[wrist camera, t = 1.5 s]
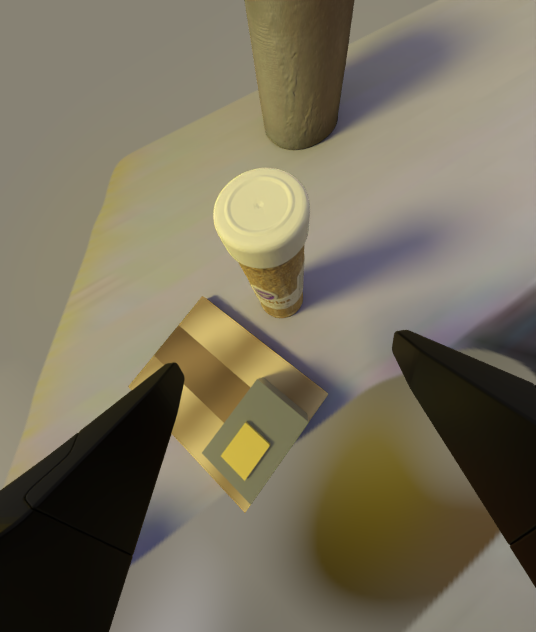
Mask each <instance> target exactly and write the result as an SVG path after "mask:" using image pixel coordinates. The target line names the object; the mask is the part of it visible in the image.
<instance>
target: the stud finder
mask: <svg viewBox="0 0 536 632" xmlns="http://www.w3.org/2000/svg"><path fill="white" fill-rule="evenodd" d="M308 423H309V421H308V415H307V413H306V412H305V411H304V410H302V409H301V408H300V407H299V406H298V405H296V404H295V403H294V402H293V401H292V400H290V399H289V398H288V397H287V396H286V395H284V394H283V393H282V392H281V391H280V390H278V389H277V388H276V387H275V386H274V385H272V384H271V383H270V382H269V381H268V380H266V379H265V378H264V377H262V378H259V379H257V380H256V381H255V382H254V384H253V385H252V386H251V388H250V389H249V390H248V392H247V393H246V394H245V396H244V397H243V398H242V400H241V401H240V402H239V404H238V405H237V406H236V408H235V409H234V411H233V412H232V413H231V415H230V416H229V417H228V419H227V420H226V421H225V423H224V424H223V425H222V427H221V428H220V429H219V431H218V432H217V433H216V435H215V436H214V437H213V439H212V440H211V441H210V443H209V444H208V445H207V447H206V448H205V449H204V451H203V452H202V454H203V455H204V456H205V457H206V458H207V459H208V460H209V461H210V462H211V463H212V464H213V465H214V467H215V468H216V469H217V470H218V471H219V472H220V473H221V474H222V475H223V476H224V477H225V478H226V479H227V480H228V481H229V482H230V483H231V485H232V486H233V487H234V488H235V489H236V490H237V491H238V492H239V493H240V494H241V495H242V496H243V497H244V498H245V499H246V500H247V501H248V503H249V504H250V505H251V504H252V503H253V501H254V500H255V498H256V497H257V495H258V494H259V493H260V491H261V490H262V488H263V487H264V485H265V484H266V482H267V481H268V480H269V478H270V477H271V475H272V474H273V473H274V471H275V470H276V468H277V467H278V465H279V464H280V463H281V461H282V460H283V458H284V457H285V455H286V454H287V453H288V451H289V450H290V448H291V447H292V445H293V444H294V443H295V441H296V440H297V438H298V437H299V435H300V434H301V433H302V431H303V430H304V428H305V427H306V425H307V424H308Z"/></svg>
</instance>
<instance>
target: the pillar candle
mask: <svg viewBox="0 0 536 632" xmlns="http://www.w3.org/2000/svg"><path fill="white" fill-rule="evenodd" d="M244 1H245V6H246V13H247V19H248V26H249V32H250V38H251V45H252V51H253V58H254V65H255V71H256V78H257V84H258V90H259V96H260V102H261V108H262V114H263V120H264V126H265V132H266V135H267V136H268V137H269V138H270V139H271V140H272V141H273V142H274V143H275V144H277V145H278V146H280V147H282V148H285V149H292V150H295V149H304V148H308V147H311V146H313V145H315V144H317V143H319V142H321V141H322V140H323V139H325V138H326V137H327V136H328V135H329V134H330V133H331V132H332V131H333V129H334V128H335V126H336V124H337V119H338V110H339V103H340V97H341V89H342V83H343V77H344V70H345V65H346V58H347V51H348V44H349V36H350V28H351V20H352V13H353V6H354V0H244Z"/></svg>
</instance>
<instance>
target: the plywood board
mask: <svg viewBox="0 0 536 632" xmlns="http://www.w3.org/2000/svg"><path fill="white" fill-rule="evenodd" d="M172 362H176V363H177V364H178V365H179V367H180V369H181V371H182V372H183V374H184V377H185V381H184V386H183V391H182V395H181V400H180V405H179V410H178V414H177V417H176V421H175V424H174V427H173V430H172V434H173V436H174V437H175V438H176V439H177V440H178V441H179V442H180V443H181V444H182V445H183V446H184V447H185V449H186V450H187V451H188V452H189V453H190V454H191V455H192V456H193V457H194V458H195V459H196V460H197V461H198V463H199V464H200V465H201V466H202V467H203V468H204V469H205V470H206V471H207V472H208V473H209V474H210V476H211V477H212V478H213V479H214V480H215V481H216V482H217V483H218V484H219V485H220V486H221V487H222V489H223V490H224V491H225V492H226V493H227V494H228V495H229V496H230V497H231V498H232V499H233V500H234V501H235V503H236V504H237V505H238V506H239V507H240V508H241V509H242V510H243V511H244V512H246V511H247V509H248V508H249V507H250V504H249V503H248V501H247V500H246V499H245V498H244V497H243V496H242V495H241V494H240V493H239V492H238V491H237V490H236V489H235V488H234V487H233V486H232V485H231V483H230V482H229V481H228V480H227V479H226V478H225V477H224V476H223V475H222V474H221V473H220V472H219V471H218V470H217V469H216V468H215V467H214V465H213V464H212V463H211V462H210V461H209V460H208V459H207V458H206V457H205V456H204V455H203V454H202V452H203V451H204V449H205V448H206V447H207V445H208V444H209V443H210V441H211V440H212V439H213V437H214V436H215V435H216V433H217V432H218V431H219V429H220V428H221V427H222V425H223V424H224V423H225V421H226V420H227V419H228V417H229V416H230V415H231V413H232V412H233V411H234V409H235V408H236V406H237V405H238V404H239V402H240V401H241V400H242V398H243V397H244V396H245V394H246V393H247V392H248V390H249V389H250V388H251V386H252V385H253V384H254V382H255V381H256V380H257V379H259V378H262V377H264V378H265V379H266V380H268V381H269V382H270V383H271V384H272V385H274V386H275V387H276V388H277V389H278V390H280V391H281V392H282V393H283V394H284V395H286V396H287V397H288V398H289V399H290V400H292V401H293V402H294V403H295V404H296V405H298V406H299V407H300V408H301V409H302V410H304V411H305V412H306V413H307V415H308V421H310V419H311V418H312V417H313V415H314V414H315V412H316V411H317V409H318V408H319V407H320V405H321V404H322V402H323V401H324V399H325V398H326V397H327V395H328V393H327V392H326V391H324V390H323V389H322V388H320V387H319V386H318V385H317V384H315V383H314V382H313V381H311V380H310V379H309V378H308V377H306V376H305V375H304V374H302V373H301V372H300V371H299V370H297V369H296V368H295V367H293V366H292V365H291V364H290V363H288V362H287V361H286V360H284V359H283V358H282V357H281V356H279V355H278V354H277V353H275V352H274V351H273V350H272V349H270V348H269V347H268V346H266V345H265V344H264V343H263V342H261V341H260V340H259V339H257V338H256V337H255V336H254V335H252V334H251V333H250V332H248V331H247V330H246V329H245V328H243V327H242V326H241V325H239V324H238V323H237V322H236V321H234V320H233V319H232V318H230V317H229V316H228V315H227V314H225V313H224V312H223V311H221V310H220V309H219V308H218V307H216V306H215V305H214V304H212V303H211V302H210V301H209V300H207V299H206V298H205V297H203V296H202V297H201V298H200V300H199V301H198V302H197V303H196V305H195V306H194V307H193V308H192V309H191V311H190V312H189V313H188V314H187V316H186V317H185V318H184V319H183V320H182V322H181V323H180V324H179V325H178V327H177V328H176V329H175V330H174V331H173V333H172V334H171V335H170V336H169V338H168V339H167V340H166V341H165V342H164V344H163V345H162V346H161V347H160V349H159V350H158V351H157V352H156V353H155V355H154V356H153V357H152V358H151V360H150V361H149V362H148V363H147V364H146V366H145V367H144V368H143V369H142V370H141V372H140V373H139V374H138V375H137V377H136V378H135V379H134V380H133V381H132V383H131V384H130V385H129V386H128V387H129V388H130V389H131V390H133V389H134V388H135V387H137V386H138V385H139V384H141V383H142V382H143V381H144V380H146V379H147V378H148V377H149V376H151V375H152V374H153V373H155V372H156V371H157V370H158V369H160V368H161V367H162V366H163V365H165V364H166V363H172Z"/></svg>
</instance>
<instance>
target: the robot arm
mask: <svg viewBox="0 0 536 632" xmlns="http://www.w3.org/2000/svg"><path fill="white" fill-rule="evenodd" d="M392 351H393V354H394V356H395V358H396V360H397V362H398V364H399V366H400V368H401V371H402V373H403V375H404V377H405V379H406V381H407V383H408V385H409V387H410V389H411V390H412V392H413V394H414V395H415V397H416V398H417V400H418V401H419V403H420V405H421V406H422V408H423V410H424V411H425V413H426V414H427V416H428V417H429V419H430V421H431V422H432V424H433V425H434V427H435V429H436V430H437V432H438V433H439V435H440V437H441V438H442V440H443V441H444V443H445V444H446V446H447V447H448V449H449V451H450V452H451V454H452V456H453V457H454V459H455V460H456V462H457V463H458V465H459V467H460V468H461V470H462V471H463V473H464V475H465V476H466V478H467V479H468V481H469V482H470V484H471V486H472V487H473V489H474V490H475V492H476V494H477V495H478V497H479V498H480V500H481V501H482V503H483V505H484V506H485V507H486V509H487V511H488V513H489V514H490V516H491V517H492V519H493V520H494V522H495V524H496V525H497V527H498V528H499V530H500V532H501V533H502V535H503V536H504V538H505V539H506V541H507V543H508V544H509V545H510V548H511V549H512V551H513V553H514V554H515V556H516V557H517V559H518V560H519V562H520V564H521V565H522V567H523V568H524V570H525V572H526V573H527V575H528V576H529V578H530V579H531V581H532V583H533V584H534V586H535V587H536V385H534V384H533V383H531V382H529V381H526V380H524V379H522V378H519V377H517V376H514V375H512V374H510V373H508V372H505V371H503V370H501V369H498V368H496V367H493V366H491V365H489V364H486V363H484V362H482V361H479V360H477V359H475V358H472V357H470V356H468V355H465V354H463V353H461V352H458V351H456V350H454V349H451V348H449V347H447V346H444V345H442V344H440V343H437V342H435V341H433V340H430V339H428V338H425V337H423V336H421V335H418V334H416V333H414V332H411V331H409V330H401V331H396V332H395V333H394V338H393V345H392ZM184 381H185V377H184V374H183V372H182V371H181V369H180V367H179V365H178V364H177V363H176V362H172V363H166V364H165V365H163V366H162V367H161V368H160V369H158V370H157V371H156V372H155V373H153V374H152V375H151V376H149V377H148V378H147V379H146V380H144V381H143V382H142V383H141V384H139V385H138V386H137V387H135V388H134V389H133V390H132V391H130V392H129V393H128V394H126V395H125V396H124V397H123V398H121V399H120V400H119V401H118V402H116V403H115V404H114V405H112V406H111V407H110V408H109V409H107V410H106V411H105V412H104V413H102V414H101V415H100V416H98V417H97V418H96V419H95V420H93V421H92V422H91V423H89V424H88V425H87V426H86V427H84V428H83V429H82V430H81V431H80V432H79V433H77V434H75V435H74V436H73V437H72V438H70V439H69V440H68V441H66V442H65V443H64V444H63V445H61V446H60V447H59V448H57V449H56V450H55V451H53V452H52V453H51V454H50V455H48V456H47V457H46V458H44V459H43V460H41V461H40V462H39V463H37V464H36V465H35V466H33V467H32V468H31V469H29V470H28V471H27V472H25V473H24V474H22V475H21V476H20V477H18V478H17V479H15V480H14V481H13V482H11V483H10V484H9V485H7V486H6V487H4V488H3V489H2V490H0V632H109V630H110V627H111V624H112V620H113V617H114V614H115V611H116V608H117V605H118V601H119V598H120V595H121V592H122V589H123V585H124V583H125V579H126V576H127V573H128V570H129V567H130V564H131V560H132V555H133V554H134V550H135V547H136V544H137V541H138V538H139V535H140V531H141V528H142V525H143V522H144V519H145V516H146V512H147V509H148V506H149V503H150V500H151V497H152V493H153V490H154V487H155V484H156V481H157V478H158V474H159V471H160V468H161V465H162V462H163V459H164V455H165V452H166V449H167V446H168V443H169V440H170V437H171V433H172V430H173V427H174V424H175V421H176V417H177V414H178V410H179V405H180V400H181V395H182V391H183V386H184Z"/></svg>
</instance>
